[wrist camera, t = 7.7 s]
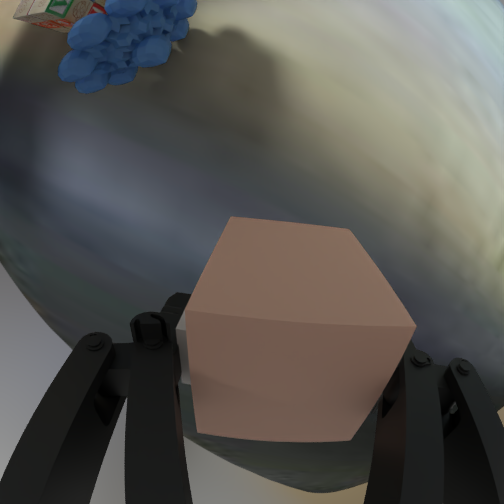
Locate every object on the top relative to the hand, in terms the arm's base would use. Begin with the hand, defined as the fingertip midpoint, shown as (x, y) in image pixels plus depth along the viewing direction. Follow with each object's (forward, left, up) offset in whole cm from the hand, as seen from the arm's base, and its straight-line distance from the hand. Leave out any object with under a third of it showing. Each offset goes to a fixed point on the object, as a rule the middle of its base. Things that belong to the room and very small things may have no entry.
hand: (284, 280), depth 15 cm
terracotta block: (0, 0, 0) cm, 0 cm away
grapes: (-12, +15, -12) cm, 22 cm away
